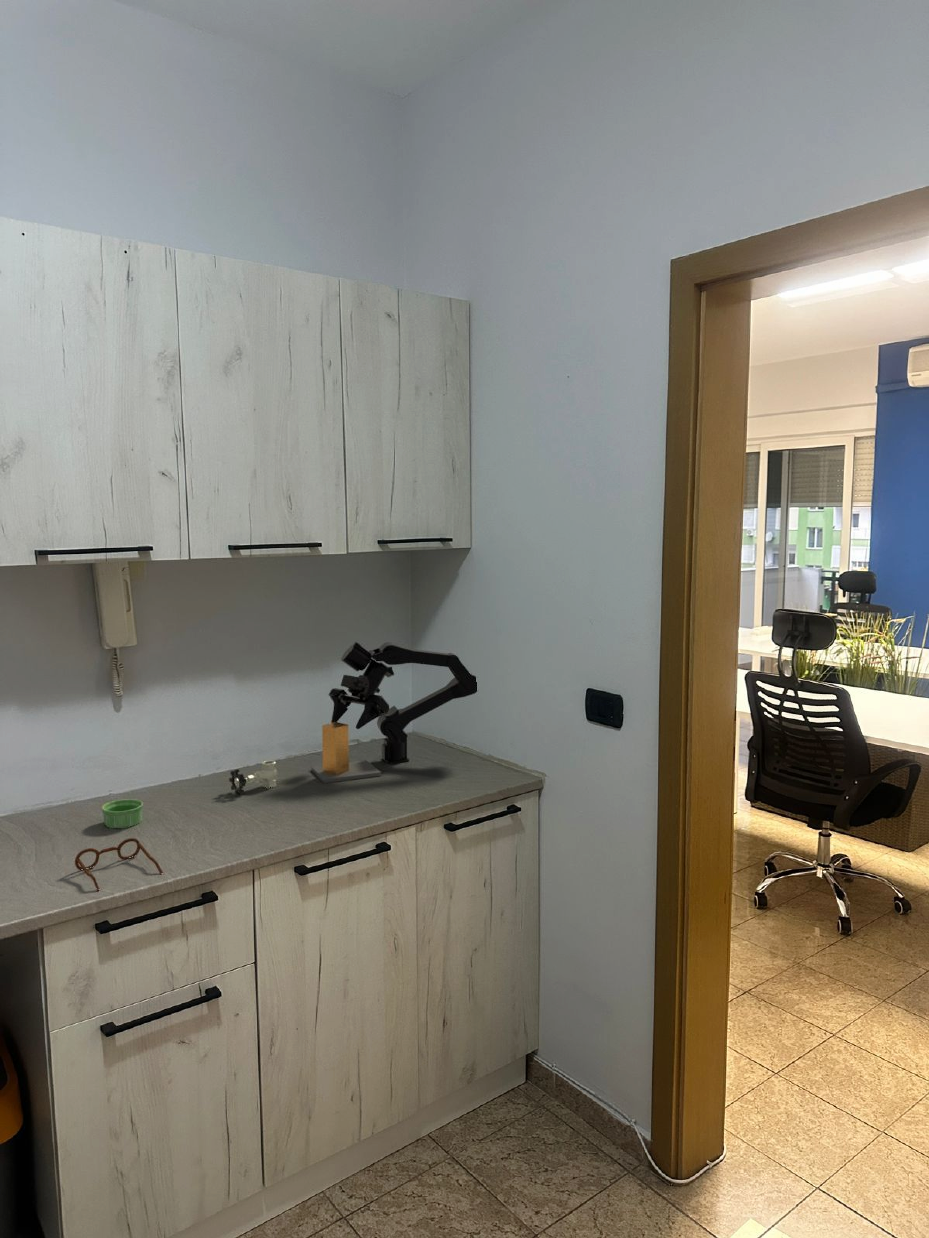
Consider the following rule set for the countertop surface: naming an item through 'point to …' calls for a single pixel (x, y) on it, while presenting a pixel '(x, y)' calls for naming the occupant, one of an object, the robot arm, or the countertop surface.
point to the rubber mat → (348, 772)
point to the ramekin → (122, 813)
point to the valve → (255, 777)
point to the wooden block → (335, 748)
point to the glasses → (118, 855)
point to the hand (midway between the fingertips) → (344, 725)
